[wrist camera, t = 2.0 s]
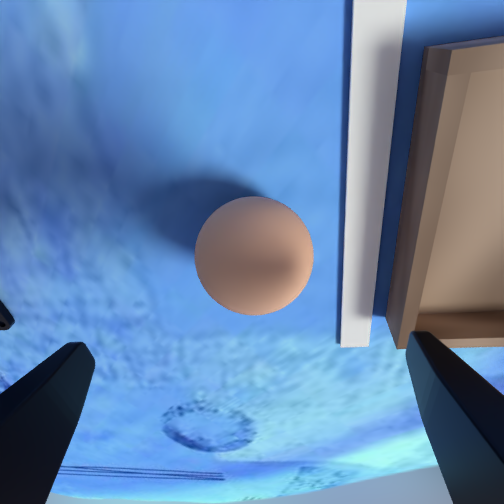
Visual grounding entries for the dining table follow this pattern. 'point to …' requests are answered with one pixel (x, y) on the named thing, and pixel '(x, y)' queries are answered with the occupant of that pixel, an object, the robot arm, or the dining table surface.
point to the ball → (254, 255)
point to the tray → (453, 202)
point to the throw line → (368, 155)
